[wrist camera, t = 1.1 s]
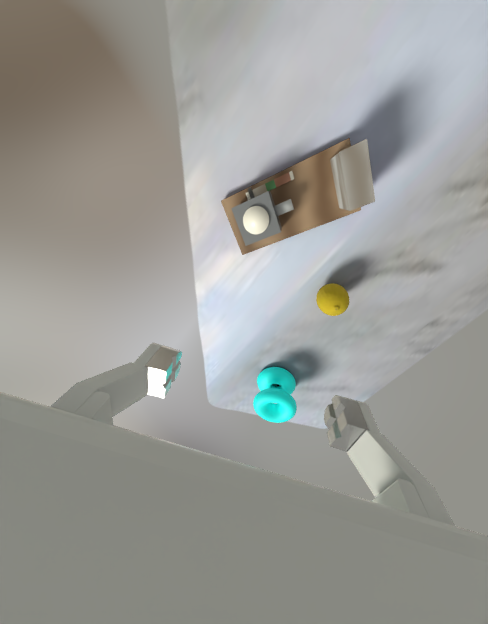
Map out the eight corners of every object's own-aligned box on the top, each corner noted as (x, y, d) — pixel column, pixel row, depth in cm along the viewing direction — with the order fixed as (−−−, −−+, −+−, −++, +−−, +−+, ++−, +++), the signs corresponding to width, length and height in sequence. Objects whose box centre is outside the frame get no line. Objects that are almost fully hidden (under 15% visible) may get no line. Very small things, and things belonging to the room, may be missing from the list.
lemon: (311, 283, 43) (315, 300, 36) (339, 273, 41) (350, 289, 34) (318, 306, 45) (324, 326, 38) (346, 298, 43) (357, 318, 36)
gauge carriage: (283, 171, 33) (282, 167, 28) (297, 221, 36) (298, 225, 32) (233, 195, 36) (225, 196, 31) (250, 240, 39) (245, 246, 34)
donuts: (304, 407, 46) (284, 430, 51) (302, 373, 54) (285, 396, 60) (262, 389, 46) (246, 415, 51) (266, 359, 54) (252, 383, 59)
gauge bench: (347, 140, 31) (365, 123, 24) (358, 209, 35) (376, 213, 28) (223, 200, 38) (207, 202, 31) (244, 253, 42) (234, 265, 35)
